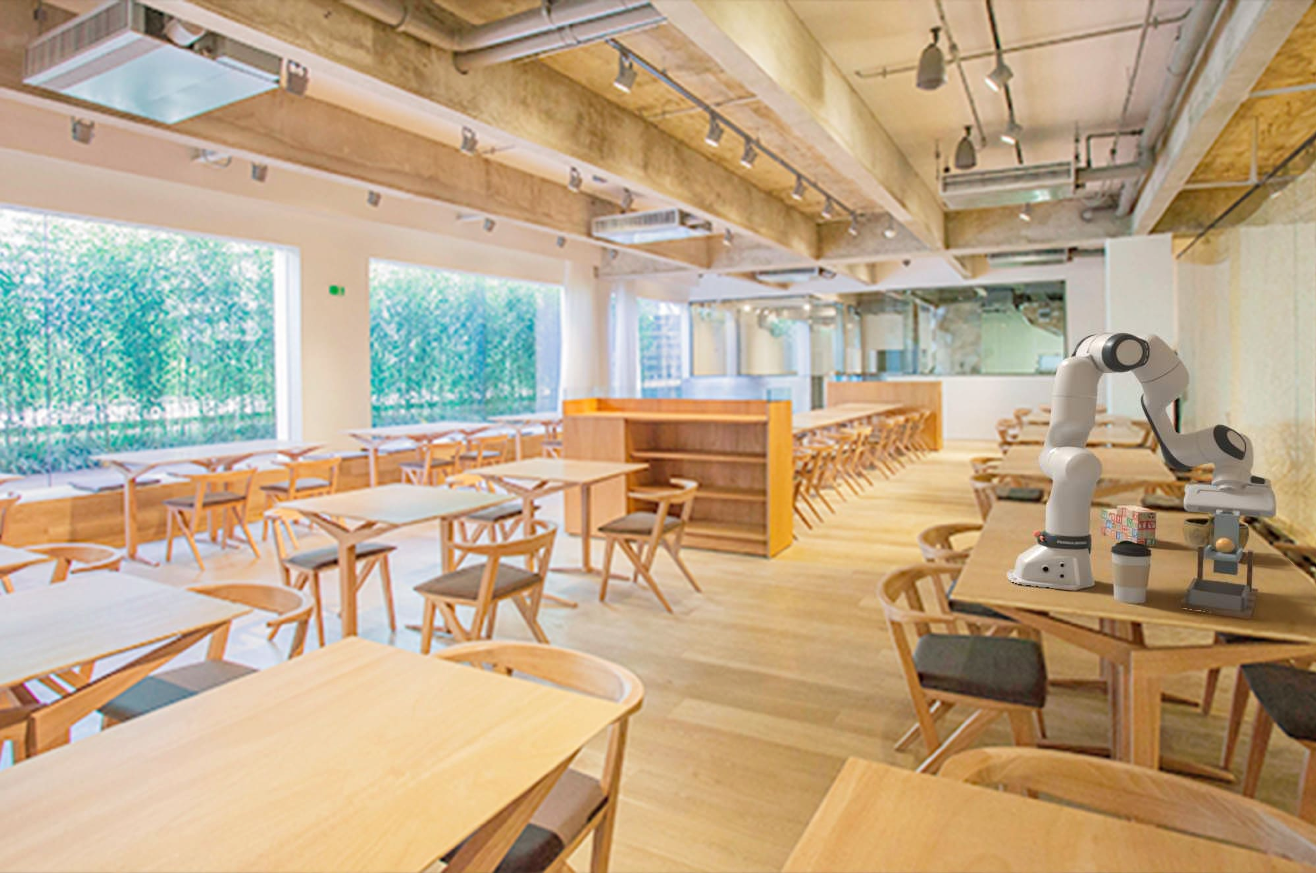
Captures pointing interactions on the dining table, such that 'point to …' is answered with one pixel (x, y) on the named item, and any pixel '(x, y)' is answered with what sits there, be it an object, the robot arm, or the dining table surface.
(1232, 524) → the tipping lever
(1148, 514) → the stack of blocks
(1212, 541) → the ceramic bowl
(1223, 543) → the orange ball
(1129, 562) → the coffee cup
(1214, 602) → the bin
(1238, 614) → the walnut lever base
